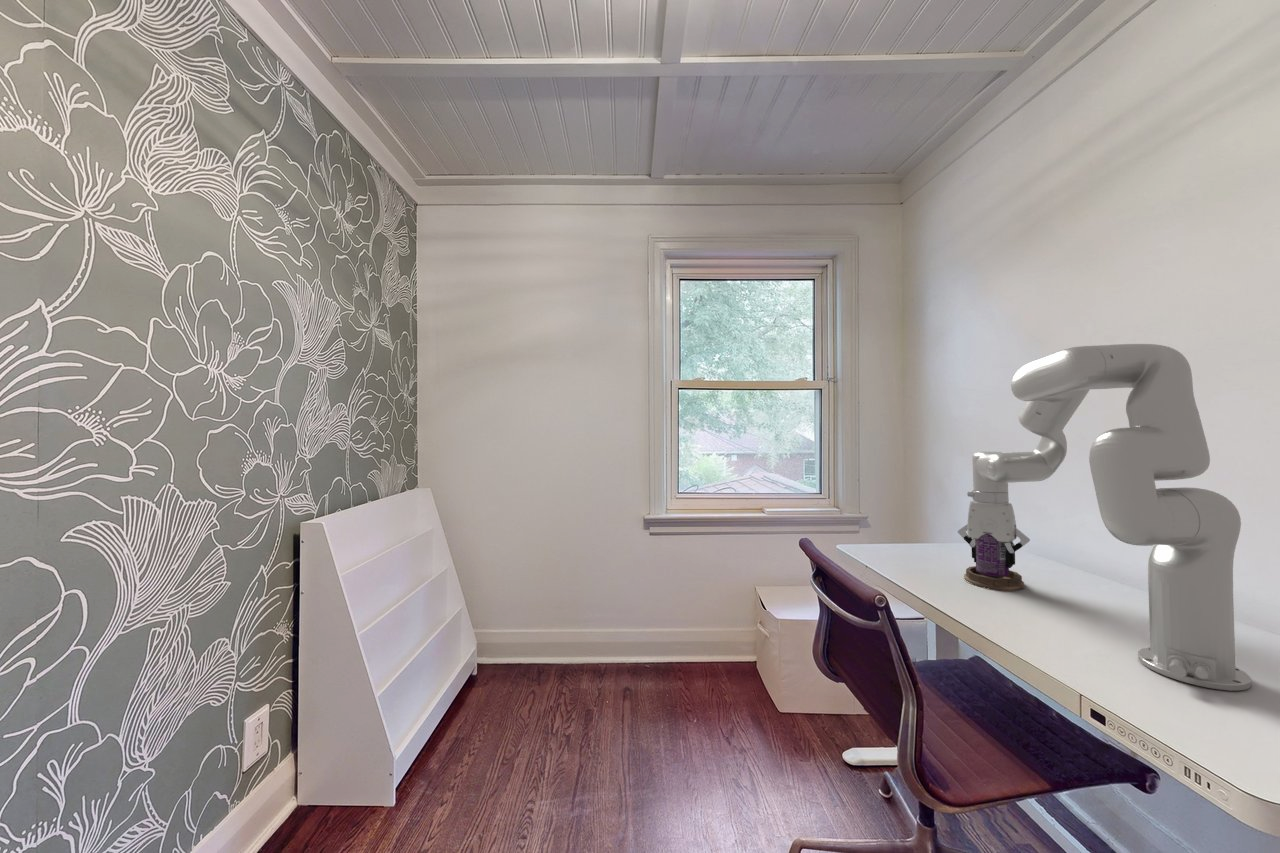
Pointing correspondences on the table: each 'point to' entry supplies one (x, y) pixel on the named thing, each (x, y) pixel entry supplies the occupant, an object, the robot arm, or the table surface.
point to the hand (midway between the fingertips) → (993, 563)
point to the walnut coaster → (995, 580)
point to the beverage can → (991, 556)
